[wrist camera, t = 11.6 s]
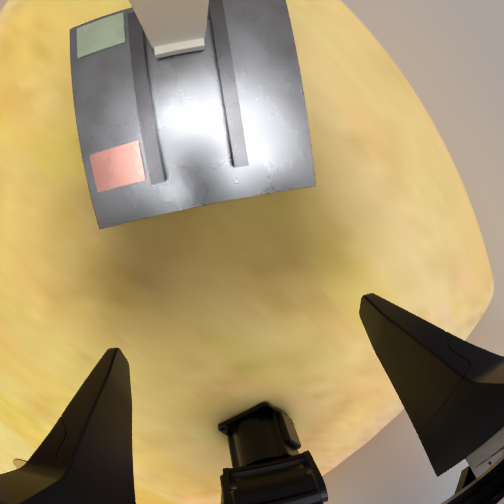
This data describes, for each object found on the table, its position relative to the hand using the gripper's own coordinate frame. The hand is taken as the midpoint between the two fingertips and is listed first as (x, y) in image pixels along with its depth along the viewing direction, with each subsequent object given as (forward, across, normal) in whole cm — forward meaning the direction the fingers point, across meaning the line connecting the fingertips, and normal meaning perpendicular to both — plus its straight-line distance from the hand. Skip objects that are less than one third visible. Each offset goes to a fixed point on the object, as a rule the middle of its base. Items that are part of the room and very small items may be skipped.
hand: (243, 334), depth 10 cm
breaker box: (+13, 0, -9) cm, 16 cm away
